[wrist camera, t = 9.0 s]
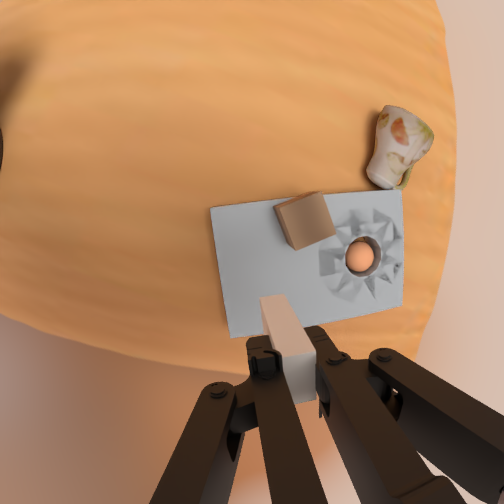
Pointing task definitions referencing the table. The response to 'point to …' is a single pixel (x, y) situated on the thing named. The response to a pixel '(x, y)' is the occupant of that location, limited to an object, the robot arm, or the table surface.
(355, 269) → the ball
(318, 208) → the walnut cube
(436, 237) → the table surface
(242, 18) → the table surface
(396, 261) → the grey flat block
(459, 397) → the robot arm
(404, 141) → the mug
